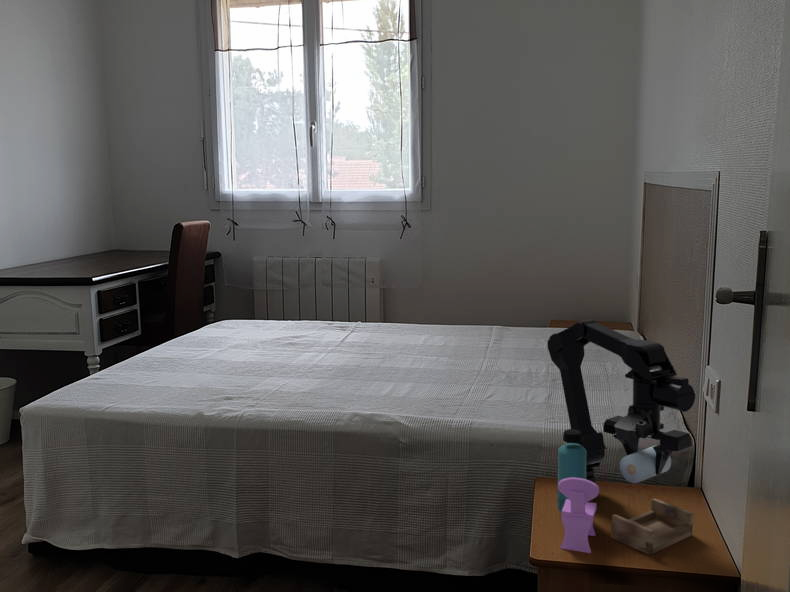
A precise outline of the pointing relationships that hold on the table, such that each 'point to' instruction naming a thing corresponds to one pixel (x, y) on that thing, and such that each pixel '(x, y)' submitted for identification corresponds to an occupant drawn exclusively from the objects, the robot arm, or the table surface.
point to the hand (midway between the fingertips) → (645, 470)
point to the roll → (641, 465)
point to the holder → (653, 527)
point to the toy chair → (578, 512)
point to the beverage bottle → (571, 460)
